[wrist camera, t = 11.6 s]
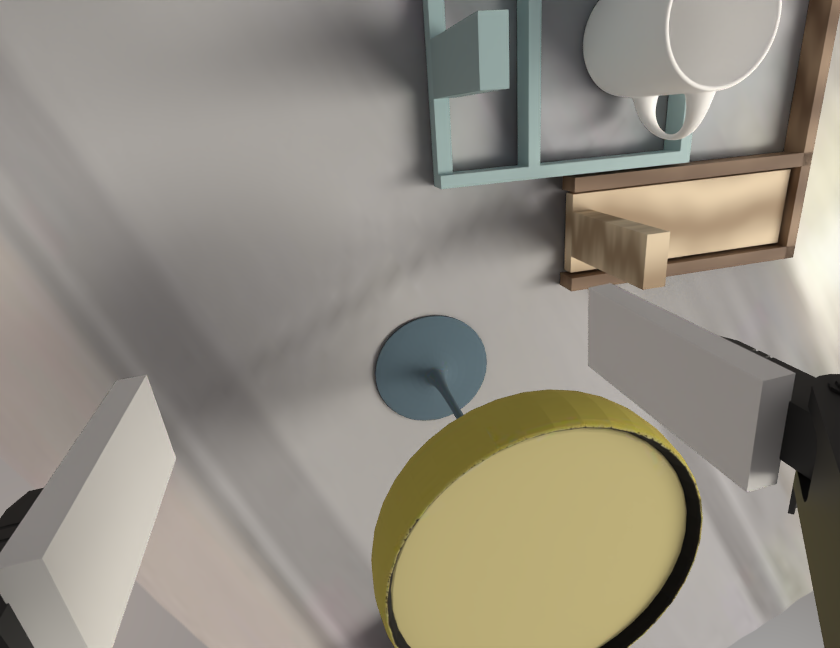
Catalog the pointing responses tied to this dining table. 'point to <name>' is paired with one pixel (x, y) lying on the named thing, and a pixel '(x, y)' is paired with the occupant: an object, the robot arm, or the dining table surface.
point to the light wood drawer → (670, 222)
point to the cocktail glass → (524, 510)
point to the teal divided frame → (489, 71)
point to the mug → (676, 51)
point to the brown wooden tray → (741, 162)
